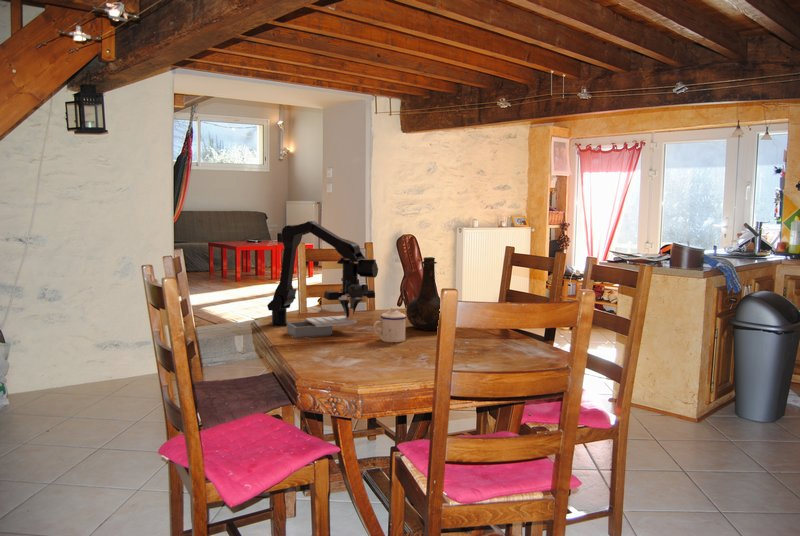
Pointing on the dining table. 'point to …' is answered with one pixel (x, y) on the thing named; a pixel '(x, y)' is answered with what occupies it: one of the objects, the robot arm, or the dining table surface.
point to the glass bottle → (425, 300)
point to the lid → (333, 320)
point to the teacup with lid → (392, 326)
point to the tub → (307, 330)
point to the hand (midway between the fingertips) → (349, 317)
